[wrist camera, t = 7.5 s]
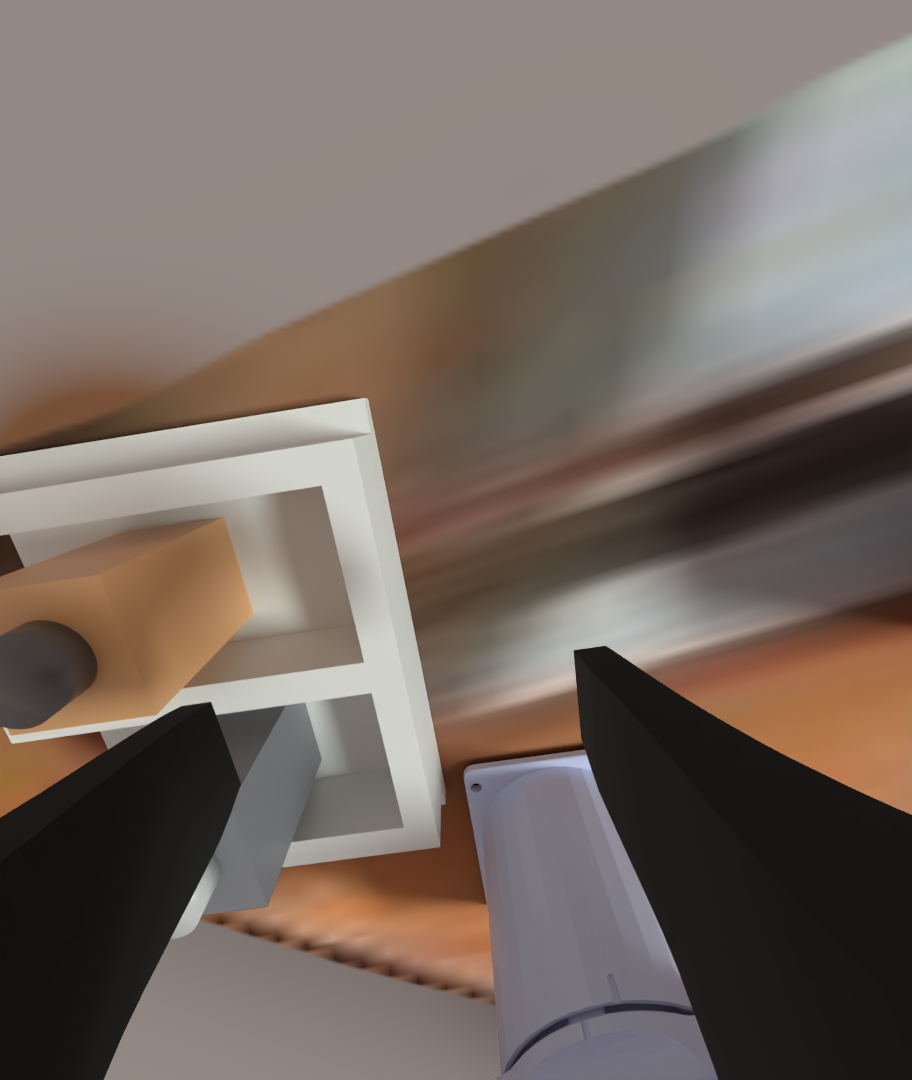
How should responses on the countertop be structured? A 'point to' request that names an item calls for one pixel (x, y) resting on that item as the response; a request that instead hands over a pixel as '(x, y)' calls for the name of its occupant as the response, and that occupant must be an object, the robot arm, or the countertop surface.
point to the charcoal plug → (257, 809)
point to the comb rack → (273, 598)
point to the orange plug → (116, 625)
